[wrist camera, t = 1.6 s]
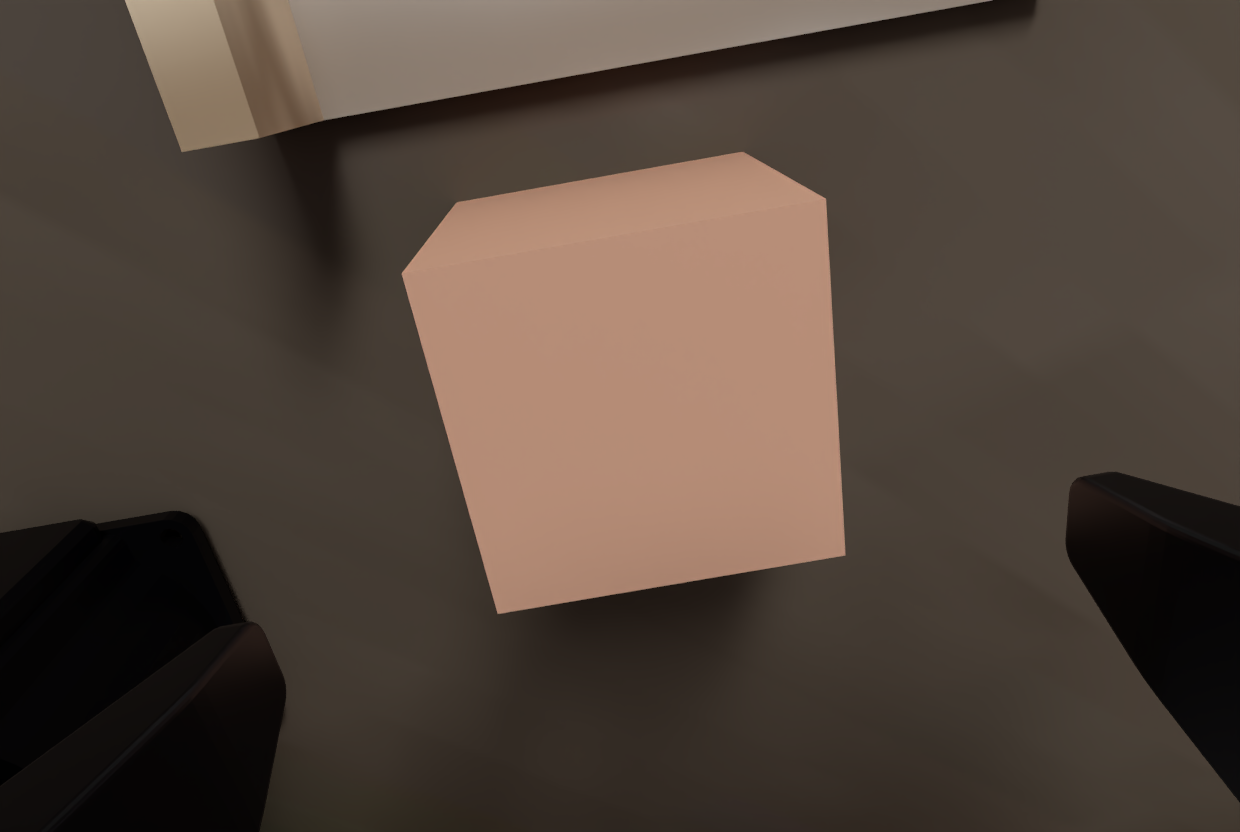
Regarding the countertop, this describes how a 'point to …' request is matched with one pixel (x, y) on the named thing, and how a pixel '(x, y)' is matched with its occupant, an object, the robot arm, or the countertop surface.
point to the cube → (637, 377)
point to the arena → (430, 49)
